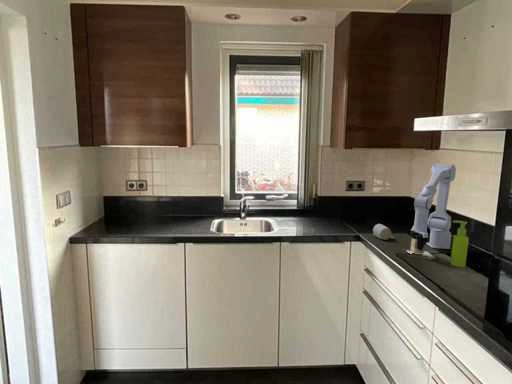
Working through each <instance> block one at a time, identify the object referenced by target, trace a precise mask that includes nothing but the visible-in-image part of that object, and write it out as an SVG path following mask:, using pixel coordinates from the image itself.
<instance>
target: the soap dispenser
mask: <svg viewBox="0 0 512 384" xmlns="http://www.w3.org/2000/svg"><path fill="white" fill-rule="evenodd" d="M452 223H457V224H459V223H460V226H459V228H457V232H456V234H455V235H453V237H452V238H453V239H452V245H451V254H450V265H451V266H454V267H456V266H457V268H465V267H466V263H467V256H468V249H469V240H470V237H468V236H467V229H466V227H465V226H466V225H467V224H468V222H467V221H464V220H452Z"/></svg>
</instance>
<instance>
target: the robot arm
mask: <svg viewBox="0 0 512 384" xmlns="http://www.w3.org/2000/svg"><path fill="white" fill-rule="evenodd" d="M430 171H431V177H430V179H429V183H428V184H425V185H424V186H423V188H422V190H421V192H420V193H419V195H418V196H415V197H414V198H415V199H414V202H413V206H414V211H415V213H414V214H415V215H414V221H413V222H414V223H413V225H412V228H411V229H410V235H411V237H412V238H411V239H417V249H418V250H423V248H424V249H425V245H427V246H429V247H430V248H432V249H443V250H444V249H445V250H448V249H449V250H452V247H451V242H452V233H451V232H450V230H451V227H452V216H450V215H449V214H448V213H447V207H448V199H449V192H450V187H451V182H453V181H455V177H456V174H457V173H456V172H457V168H456V165H455V164H446V163H445V164H444V163H436V162H435V163H433V164H432V166H431V169H430ZM438 185H439V186H438ZM437 187H438V189H437ZM436 193H437V198H436V205H435V211H433V212H431V213H430V209H431V207H432V205H433V202H434V199H433V198H434V197H435V194H436ZM428 228H429V230H430V233H428ZM428 240H429V241H428ZM427 241H428V242H427Z"/></svg>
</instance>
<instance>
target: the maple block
mask: <svg viewBox="0 0 512 384" xmlns="http://www.w3.org/2000/svg"><path fill="white" fill-rule="evenodd" d="M410 251H412V252H413V253H419V254H424V251H425V247H424V248H423V250H418V249H417V239H413V238H411V243H410Z"/></svg>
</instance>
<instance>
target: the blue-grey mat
mask: <svg viewBox="0 0 512 384" xmlns="http://www.w3.org/2000/svg"><path fill="white" fill-rule="evenodd" d="M405 250H406V251H407V252H408V253H410V254H412V253H413V252H412V251H411V250H409V249H408V250H407V249H405ZM415 254H419V253H415ZM422 255H423V256H428V257H430V258H431V257H435V256H434V255H432V254H431V253H430V252H428V251H425V250H424V254H422Z"/></svg>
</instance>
